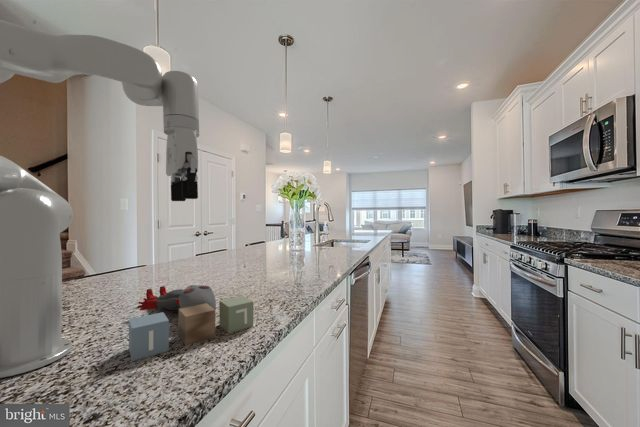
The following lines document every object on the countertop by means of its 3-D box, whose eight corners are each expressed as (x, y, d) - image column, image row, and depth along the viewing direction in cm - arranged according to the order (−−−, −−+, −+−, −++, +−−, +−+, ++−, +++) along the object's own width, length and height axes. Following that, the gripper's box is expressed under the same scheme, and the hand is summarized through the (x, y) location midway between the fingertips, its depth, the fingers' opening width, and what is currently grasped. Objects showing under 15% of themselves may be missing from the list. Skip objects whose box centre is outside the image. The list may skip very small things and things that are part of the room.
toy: (179, 282, 89) (232, 278, 71) (182, 311, 88) (236, 314, 70) (123, 294, 76) (170, 291, 59) (125, 328, 75) (174, 336, 57)
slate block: (131, 361, 49) (131, 328, 49) (128, 349, 53) (128, 319, 53) (169, 351, 52) (169, 320, 52) (163, 340, 57) (163, 312, 57)
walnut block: (185, 346, 54) (185, 316, 54) (178, 336, 59) (178, 308, 59) (215, 337, 58) (215, 309, 58) (206, 328, 63) (206, 303, 63)
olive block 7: (229, 333, 60) (229, 307, 60) (219, 325, 65) (219, 300, 65) (253, 326, 64) (253, 301, 64) (242, 319, 69) (242, 295, 69)
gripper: (156, 134, 67) (158, 201, 67) (173, 113, 54) (175, 197, 54) (188, 138, 72) (190, 201, 72) (210, 121, 59) (213, 198, 59)
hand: (184, 199), depth 63 cm, fingers open, 9 cm apart
